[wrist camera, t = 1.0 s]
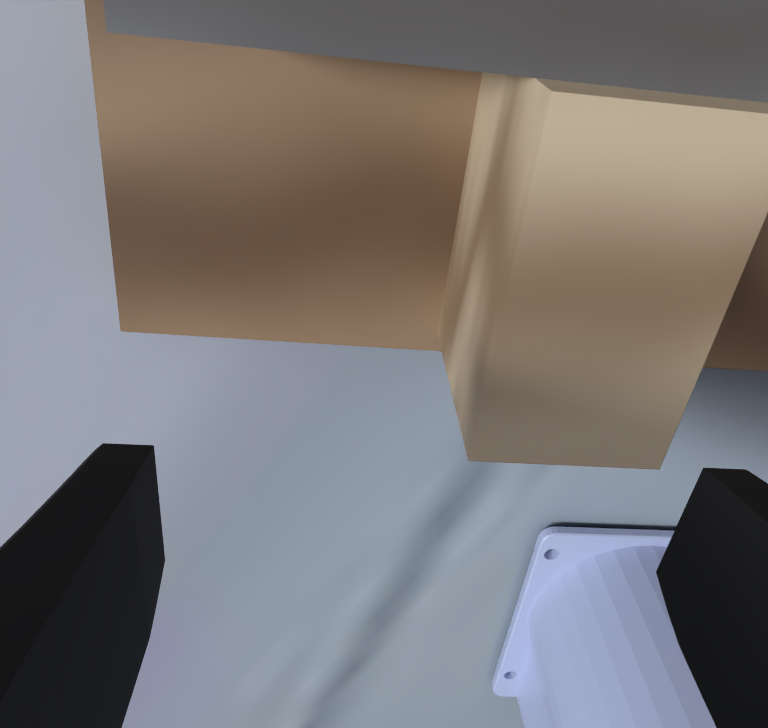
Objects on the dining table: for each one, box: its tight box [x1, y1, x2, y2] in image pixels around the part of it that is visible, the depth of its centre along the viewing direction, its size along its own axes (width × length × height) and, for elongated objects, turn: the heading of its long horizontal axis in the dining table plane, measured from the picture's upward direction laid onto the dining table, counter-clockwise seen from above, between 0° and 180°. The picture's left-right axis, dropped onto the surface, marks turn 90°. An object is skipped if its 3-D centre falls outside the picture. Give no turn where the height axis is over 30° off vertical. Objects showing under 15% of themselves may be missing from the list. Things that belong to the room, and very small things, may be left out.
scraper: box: [103, 0, 768, 470], centre depth 14 cm, size 9×17×5 cm, turn 84°
